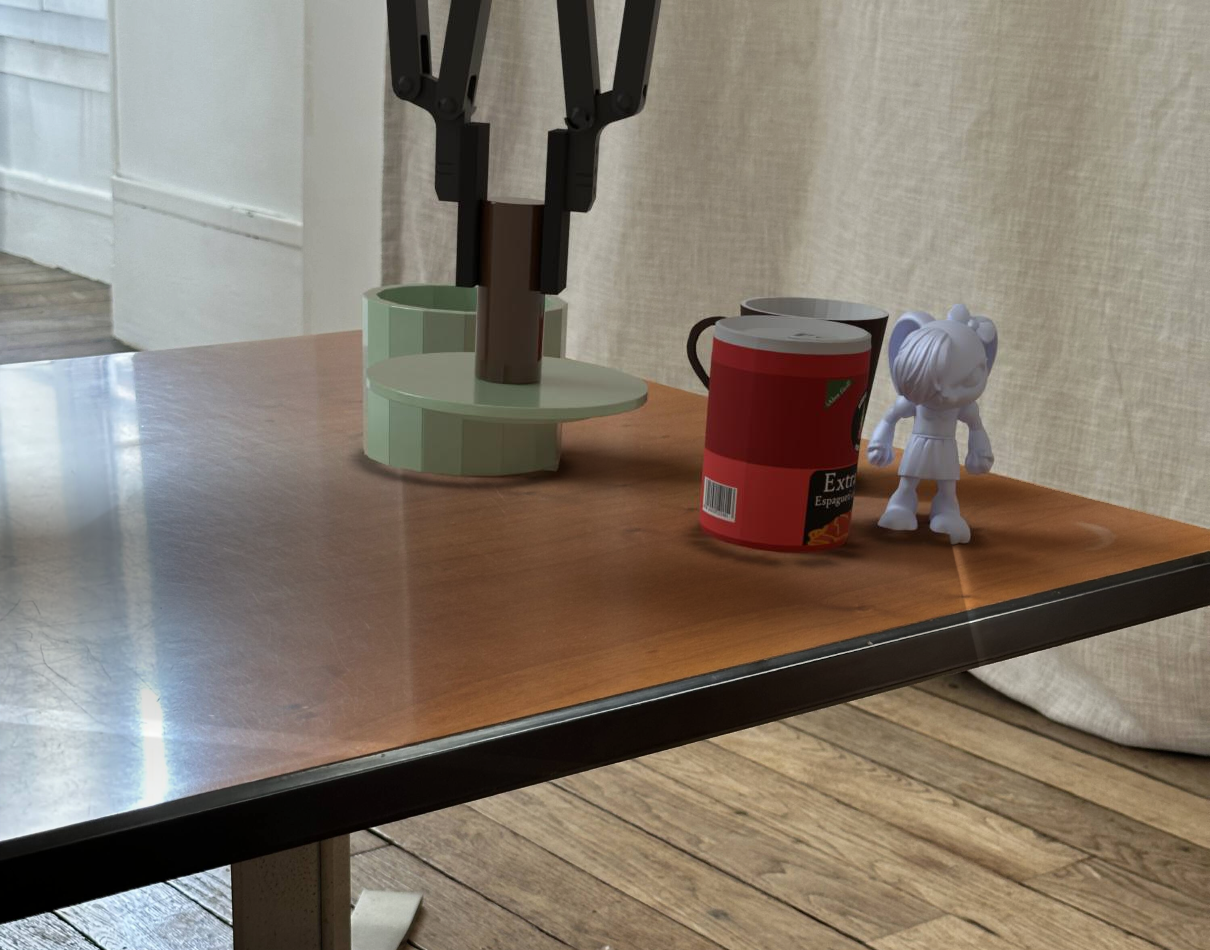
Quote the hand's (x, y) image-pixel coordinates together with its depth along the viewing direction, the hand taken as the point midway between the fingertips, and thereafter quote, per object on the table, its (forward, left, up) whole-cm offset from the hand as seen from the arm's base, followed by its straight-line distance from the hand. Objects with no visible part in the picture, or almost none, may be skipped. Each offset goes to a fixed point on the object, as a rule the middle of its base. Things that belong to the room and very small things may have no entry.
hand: (511, 285), depth 75 cm
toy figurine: (+20, +17, -14) cm, 30 cm away
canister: (-7, +24, -14) cm, 28 cm away
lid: (0, 0, -4) cm, 4 cm away
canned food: (+12, +12, -14) cm, 22 cm away
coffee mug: (+12, +28, -14) cm, 34 cm away
